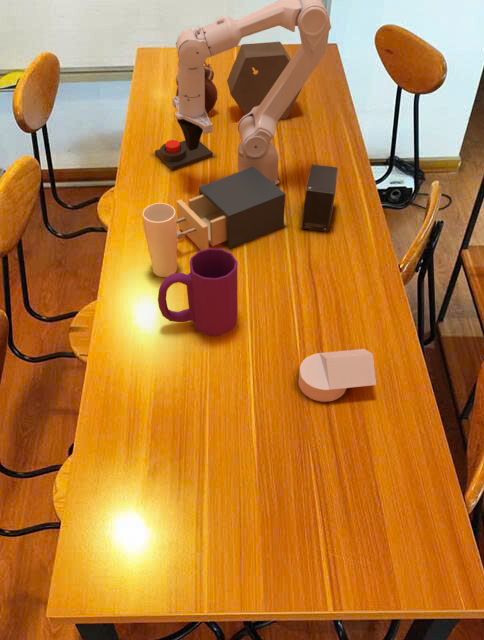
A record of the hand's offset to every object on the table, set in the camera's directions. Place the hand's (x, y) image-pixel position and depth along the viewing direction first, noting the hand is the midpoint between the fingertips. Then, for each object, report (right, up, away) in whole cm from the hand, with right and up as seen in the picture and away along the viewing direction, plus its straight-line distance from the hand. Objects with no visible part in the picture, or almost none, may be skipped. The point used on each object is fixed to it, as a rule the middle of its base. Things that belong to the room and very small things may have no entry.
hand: (192, 148), depth 161 cm
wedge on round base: (+28, -56, -32) cm, 70 cm away
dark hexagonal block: (+18, +20, +30) cm, 40 cm away
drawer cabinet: (+11, -18, -1) cm, 21 cm away
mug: (+2, -43, -22) cm, 49 cm away
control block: (-3, +4, +17) cm, 18 cm away
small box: (+29, -16, 0) cm, 33 cm away
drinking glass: (-5, -31, -11) cm, 33 cm away
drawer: (+4, -21, -5) cm, 22 cm away
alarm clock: (0, +19, +29) cm, 35 cm away
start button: (-6, +5, +14) cm, 16 cm away
